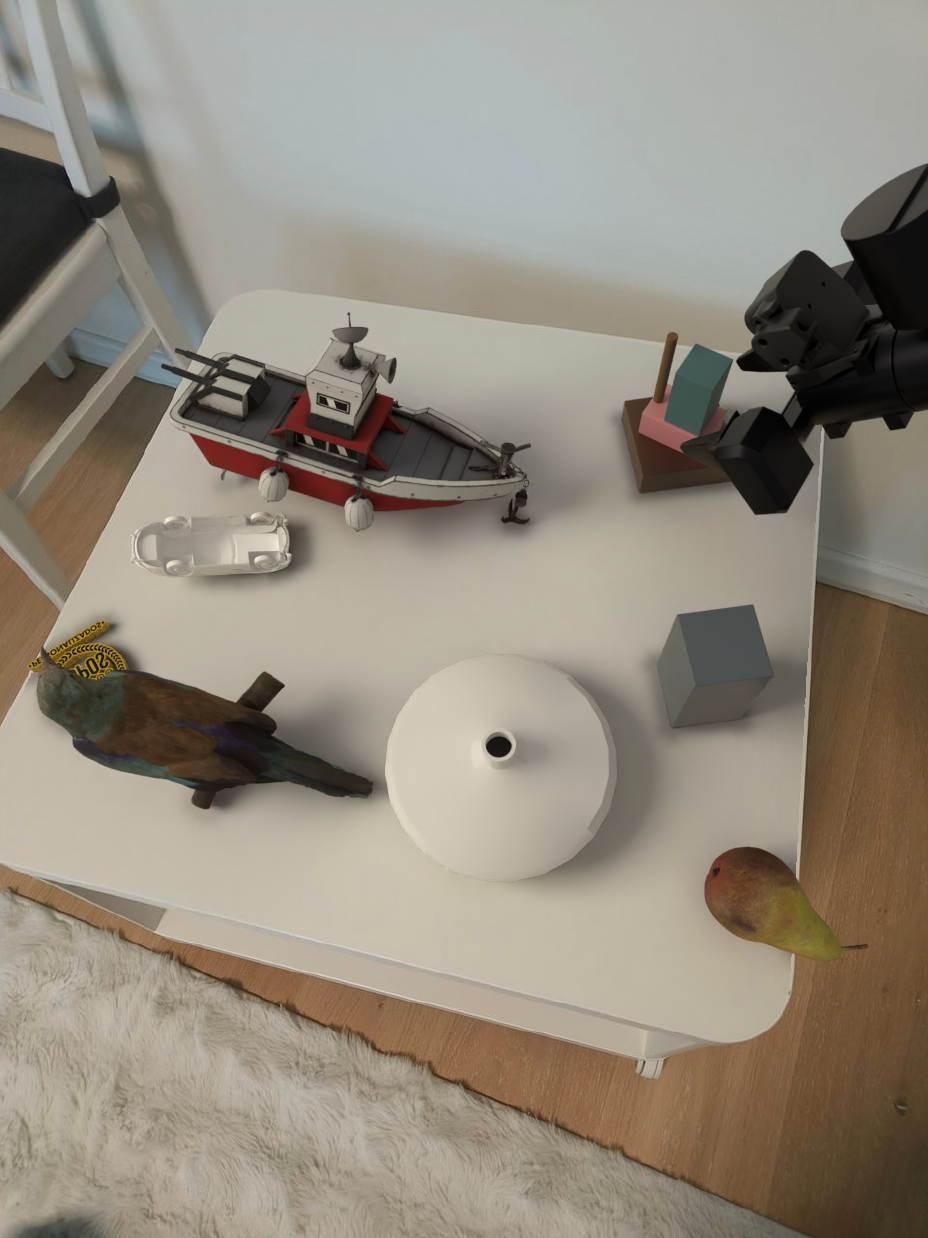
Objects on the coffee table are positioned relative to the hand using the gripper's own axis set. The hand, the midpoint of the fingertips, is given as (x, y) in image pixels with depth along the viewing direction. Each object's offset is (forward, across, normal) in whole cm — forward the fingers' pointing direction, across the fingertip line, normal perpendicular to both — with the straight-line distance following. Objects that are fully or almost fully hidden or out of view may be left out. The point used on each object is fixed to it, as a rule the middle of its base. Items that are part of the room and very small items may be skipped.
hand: (711, 406), depth 64 cm
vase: (+5, +31, +5) cm, 32 cm away
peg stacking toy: (+4, 0, +2) cm, 5 cm away
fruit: (-9, +30, +13) cm, 33 cm away
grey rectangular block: (-2, +18, +12) cm, 21 cm away
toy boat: (+21, +16, -11) cm, 29 cm away
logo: (+28, +40, -19) cm, 53 cm away
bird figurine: (+17, +40, -7) cm, 43 cm away
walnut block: (+6, 0, +4) cm, 7 cm away
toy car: (+22, +28, -18) cm, 39 cm away
